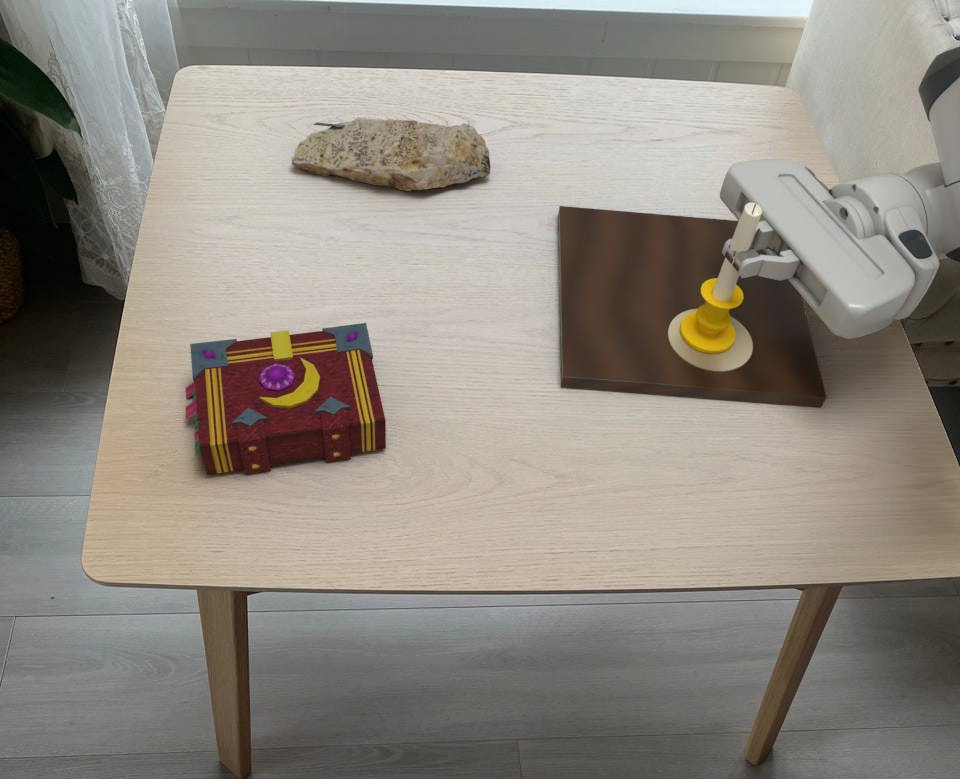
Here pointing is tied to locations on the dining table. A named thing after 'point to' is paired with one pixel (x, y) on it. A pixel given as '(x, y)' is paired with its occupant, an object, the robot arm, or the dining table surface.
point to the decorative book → (285, 399)
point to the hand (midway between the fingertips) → (732, 259)
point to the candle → (721, 295)
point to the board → (673, 313)
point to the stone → (395, 153)
